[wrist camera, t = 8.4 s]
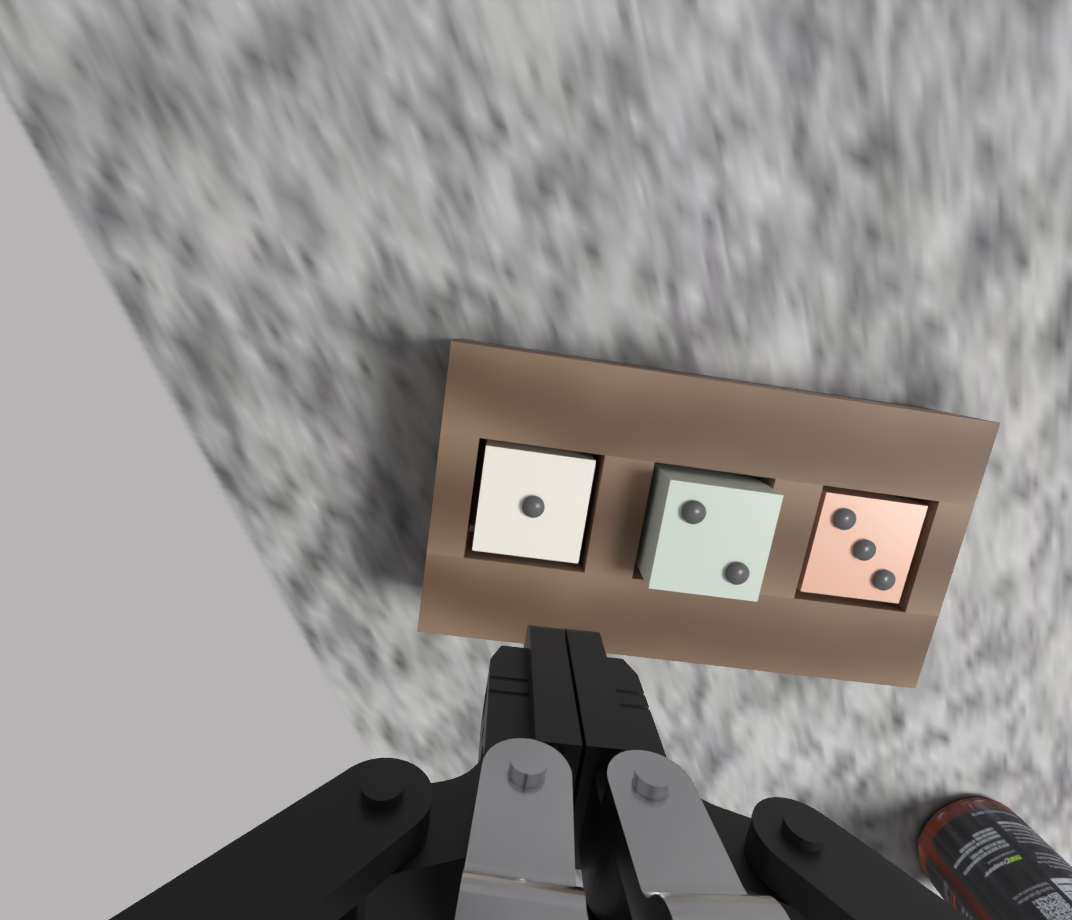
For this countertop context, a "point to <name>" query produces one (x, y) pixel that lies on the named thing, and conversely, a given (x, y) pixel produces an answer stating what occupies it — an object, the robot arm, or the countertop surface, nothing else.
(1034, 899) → the supplement bottle
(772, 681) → the countertop surface
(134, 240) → the countertop surface
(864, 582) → the button
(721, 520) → the button
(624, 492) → the button panel
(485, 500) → the button
